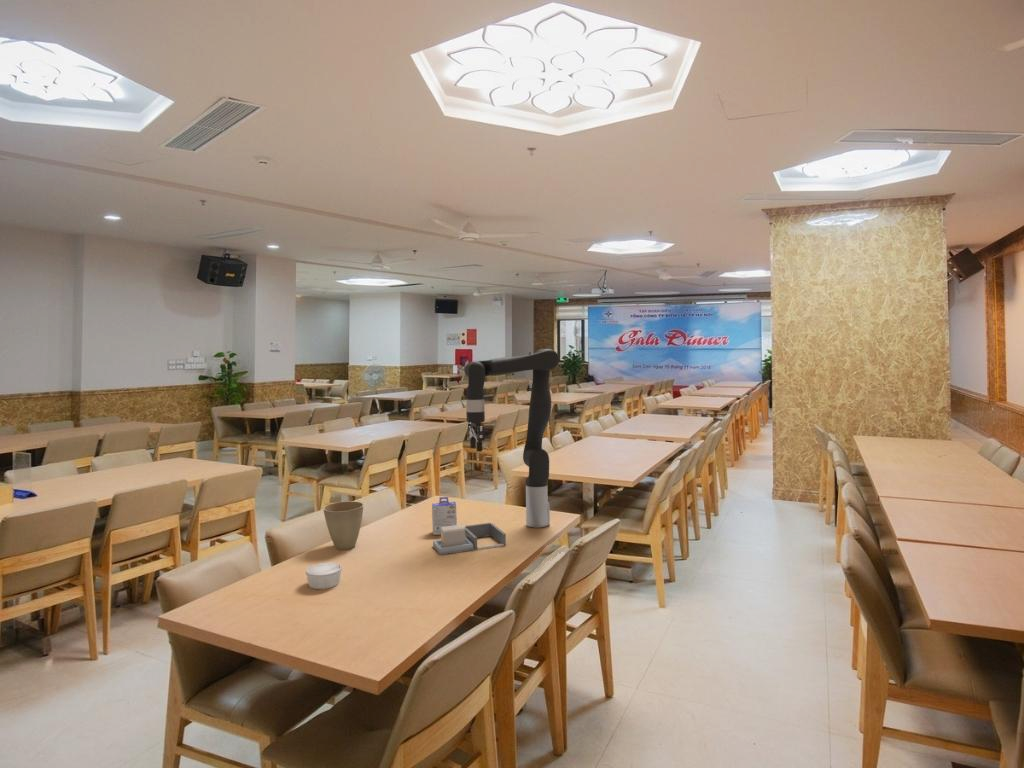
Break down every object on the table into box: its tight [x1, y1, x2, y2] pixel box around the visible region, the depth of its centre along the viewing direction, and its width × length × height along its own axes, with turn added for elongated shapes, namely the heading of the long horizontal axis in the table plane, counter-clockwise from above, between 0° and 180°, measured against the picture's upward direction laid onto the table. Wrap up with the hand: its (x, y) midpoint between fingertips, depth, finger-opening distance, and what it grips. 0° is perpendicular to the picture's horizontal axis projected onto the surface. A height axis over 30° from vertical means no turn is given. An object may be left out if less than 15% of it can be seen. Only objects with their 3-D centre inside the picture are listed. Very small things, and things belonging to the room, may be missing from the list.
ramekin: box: [305, 561, 343, 590], centre depth 190 cm, size 11×11×5 cm
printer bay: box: [463, 522, 507, 551], centre depth 230 cm, size 13×15×5 cm
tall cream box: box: [440, 524, 465, 547], centre depth 223 cm, size 8×5×7 cm, turn 112°
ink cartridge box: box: [431, 496, 458, 536], centre depth 242 cm, size 10×6×14 cm, turn 98°
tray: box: [432, 536, 475, 556], centre depth 223 cm, size 13×10×2 cm
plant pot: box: [322, 500, 364, 551], centre depth 226 cm, size 15×15×16 cm
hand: (476, 449), depth 242 cm, fingers open, 8 cm apart
